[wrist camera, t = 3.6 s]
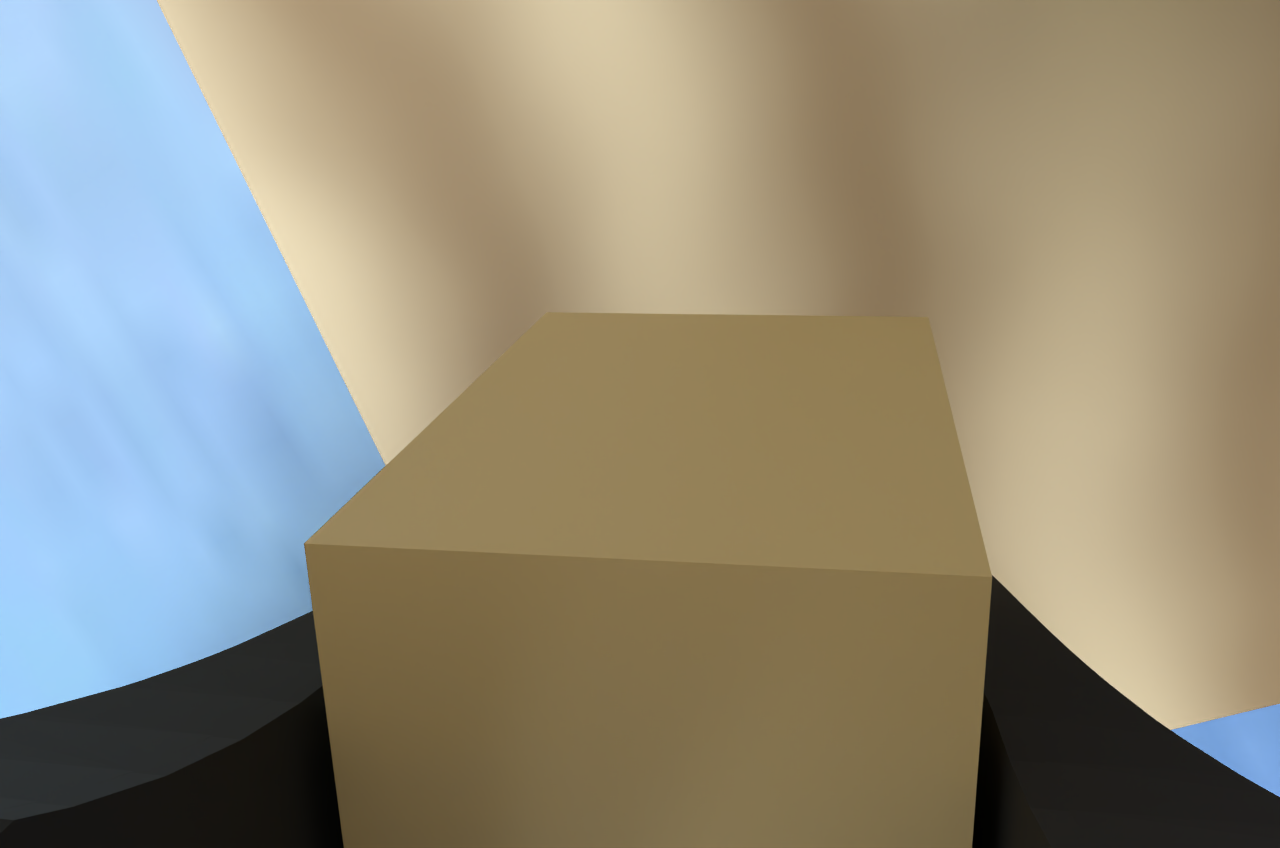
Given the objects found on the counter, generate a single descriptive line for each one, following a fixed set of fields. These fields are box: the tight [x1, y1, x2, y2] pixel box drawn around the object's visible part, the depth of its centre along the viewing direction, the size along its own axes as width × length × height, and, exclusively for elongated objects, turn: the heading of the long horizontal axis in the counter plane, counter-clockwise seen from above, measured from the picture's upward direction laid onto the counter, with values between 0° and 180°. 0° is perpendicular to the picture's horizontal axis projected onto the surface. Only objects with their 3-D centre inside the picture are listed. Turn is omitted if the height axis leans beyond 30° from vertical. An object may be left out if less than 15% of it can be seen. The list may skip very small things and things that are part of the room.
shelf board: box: [157, 0, 1280, 730], centre depth 18 cm, size 18×22×4 cm
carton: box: [304, 312, 992, 848], centre depth 11 cm, size 6×4×6 cm, turn 1°
